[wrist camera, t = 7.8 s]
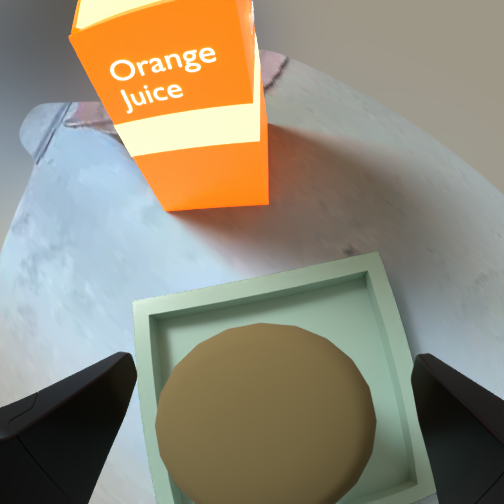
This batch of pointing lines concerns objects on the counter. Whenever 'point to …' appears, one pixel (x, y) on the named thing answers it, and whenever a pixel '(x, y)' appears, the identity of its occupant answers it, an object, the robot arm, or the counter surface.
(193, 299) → the tray
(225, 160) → the orange juice
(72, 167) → the counter surface
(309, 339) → the cork
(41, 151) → the counter surface
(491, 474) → the robot arm
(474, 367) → the counter surface
